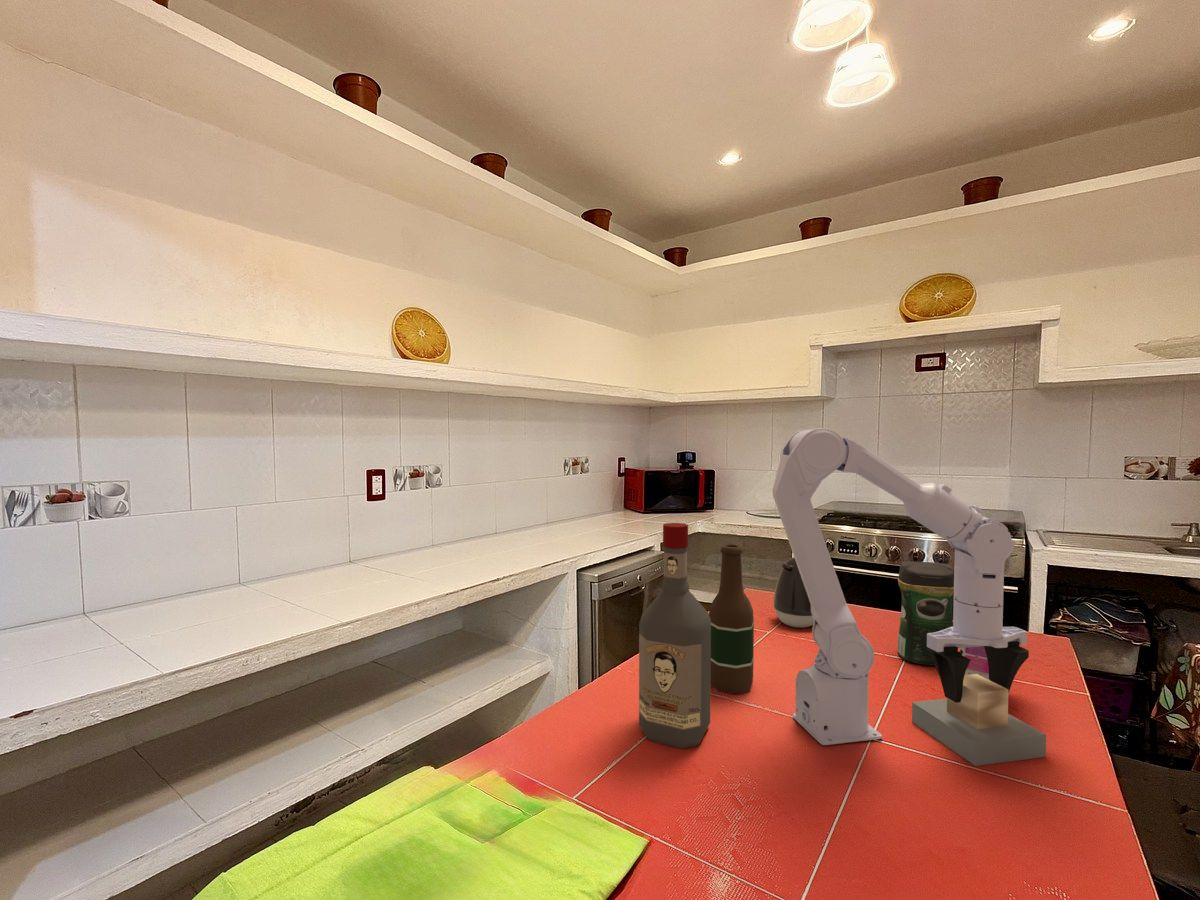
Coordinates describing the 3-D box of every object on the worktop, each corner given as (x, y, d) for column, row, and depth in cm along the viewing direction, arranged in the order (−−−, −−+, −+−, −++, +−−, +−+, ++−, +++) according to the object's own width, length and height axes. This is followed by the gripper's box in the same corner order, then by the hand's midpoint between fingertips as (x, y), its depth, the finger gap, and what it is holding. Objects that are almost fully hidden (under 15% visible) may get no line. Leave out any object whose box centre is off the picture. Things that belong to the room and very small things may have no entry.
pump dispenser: (763, 622, 124) (763, 556, 124) (790, 613, 131) (791, 550, 130) (803, 635, 116) (804, 565, 116) (830, 625, 122) (831, 558, 122)
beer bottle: (723, 670, 99) (724, 539, 99) (762, 684, 94) (763, 545, 93) (698, 684, 94) (699, 545, 93) (738, 699, 88) (739, 552, 88)
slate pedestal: (974, 766, 71) (975, 743, 71) (911, 721, 82) (912, 702, 81) (1045, 756, 73) (1046, 734, 73) (974, 714, 84) (975, 695, 83)
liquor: (655, 708, 86) (656, 518, 85) (713, 721, 82) (714, 522, 81) (634, 738, 77) (634, 527, 76) (697, 754, 73) (698, 532, 72)
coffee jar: (949, 654, 106) (950, 559, 106) (961, 671, 99) (963, 569, 98) (893, 647, 110) (894, 556, 109) (901, 663, 102) (902, 565, 102)
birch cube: (977, 729, 74) (977, 693, 74) (946, 711, 79) (947, 676, 79) (1007, 725, 75) (1008, 689, 75) (975, 707, 80) (976, 673, 80)
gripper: (956, 613, 71) (954, 716, 72) (1049, 607, 74) (1046, 705, 74) (916, 597, 78) (914, 691, 79) (1001, 592, 81) (999, 682, 81)
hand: (975, 696), depth 77 cm, fingers open, 7 cm apart
